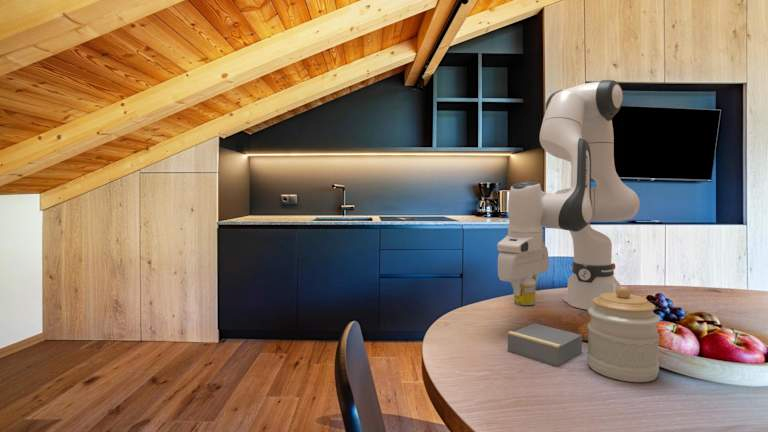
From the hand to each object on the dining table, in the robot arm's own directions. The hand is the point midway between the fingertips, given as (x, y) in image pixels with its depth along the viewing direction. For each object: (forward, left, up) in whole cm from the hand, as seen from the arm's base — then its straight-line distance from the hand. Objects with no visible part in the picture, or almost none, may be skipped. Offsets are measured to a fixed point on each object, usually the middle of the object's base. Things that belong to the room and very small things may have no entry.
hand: (524, 292), depth 110 cm
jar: (+8, +27, -11) cm, 30 cm away
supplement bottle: (0, 0, -4) cm, 4 cm away
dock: (+11, +11, -10) cm, 18 cm away
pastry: (-8, +15, -11) cm, 20 cm away
